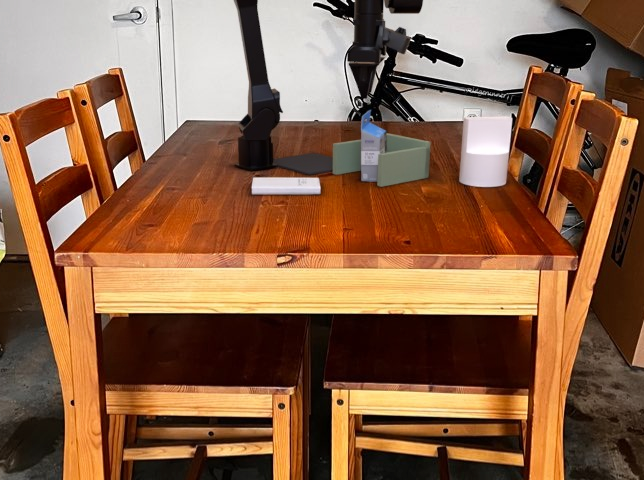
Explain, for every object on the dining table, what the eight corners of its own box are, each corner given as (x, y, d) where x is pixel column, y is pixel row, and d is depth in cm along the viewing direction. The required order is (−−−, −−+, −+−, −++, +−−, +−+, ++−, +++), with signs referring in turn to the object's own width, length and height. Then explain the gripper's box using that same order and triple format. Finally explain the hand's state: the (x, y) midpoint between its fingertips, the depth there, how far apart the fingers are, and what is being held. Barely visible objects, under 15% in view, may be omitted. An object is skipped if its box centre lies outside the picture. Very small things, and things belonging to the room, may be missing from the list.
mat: (309, 175, 162) (309, 173, 162) (262, 162, 174) (262, 160, 174) (361, 166, 170) (361, 164, 170) (314, 154, 182) (314, 152, 182)
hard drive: (253, 185, 155) (318, 184, 155) (251, 195, 147) (320, 195, 148) (253, 176, 154) (318, 176, 154) (251, 186, 147) (320, 186, 147)
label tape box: (379, 182, 157) (382, 116, 152) (359, 181, 158) (360, 115, 153) (386, 172, 165) (389, 110, 160) (366, 171, 165) (368, 109, 160)
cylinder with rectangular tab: (496, 175, 162) (502, 113, 157) (513, 186, 154) (519, 121, 149) (453, 177, 161) (457, 114, 156) (467, 187, 153) (472, 122, 148)
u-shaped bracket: (381, 186, 153) (382, 149, 151) (332, 173, 164) (332, 138, 161) (428, 177, 161) (430, 141, 158) (379, 165, 171) (380, 131, 168)
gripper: (407, 16, 152) (403, 102, 158) (411, 12, 169) (407, 91, 175) (347, 15, 153) (346, 101, 160) (358, 12, 170) (356, 89, 177)
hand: (366, 95), depth 168 cm, fingers open, 9 cm apart
